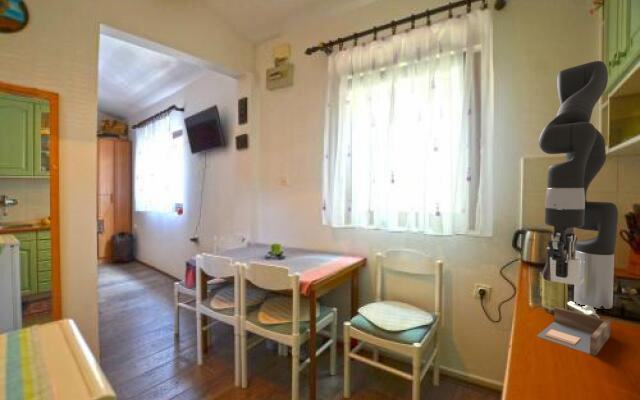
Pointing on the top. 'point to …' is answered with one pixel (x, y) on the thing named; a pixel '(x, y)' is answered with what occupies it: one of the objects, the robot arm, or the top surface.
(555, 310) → the walnut corner walls
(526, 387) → the top surface
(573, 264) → the aluminium bracket
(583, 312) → the pipe fitting
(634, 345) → the top surface
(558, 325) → the grey base plate
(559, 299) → the sauce bottle
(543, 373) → the top surface
